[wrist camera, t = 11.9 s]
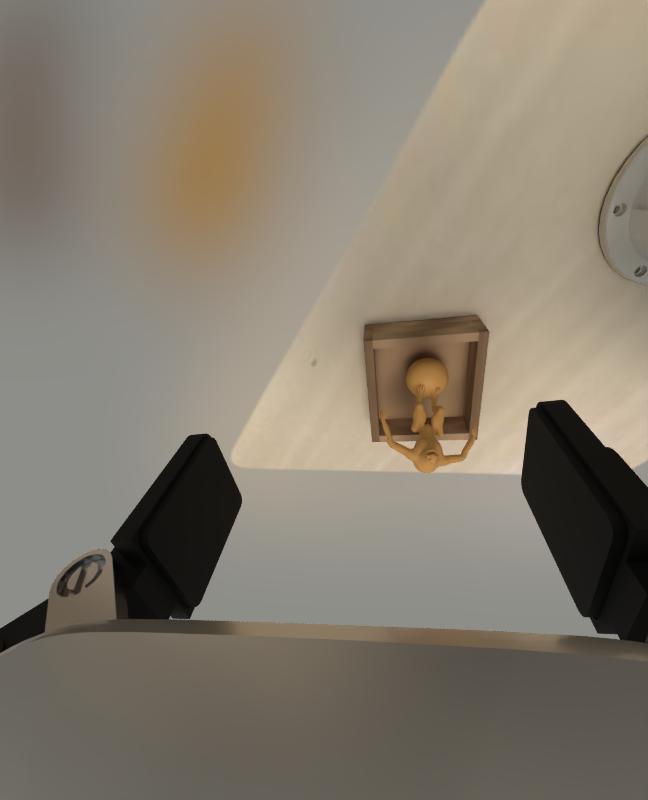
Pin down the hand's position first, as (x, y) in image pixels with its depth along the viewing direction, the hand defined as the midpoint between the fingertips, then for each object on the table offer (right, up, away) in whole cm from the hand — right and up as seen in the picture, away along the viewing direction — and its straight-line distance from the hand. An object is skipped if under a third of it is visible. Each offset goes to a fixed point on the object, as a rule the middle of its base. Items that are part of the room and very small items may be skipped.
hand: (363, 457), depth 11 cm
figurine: (+9, +4, +25) cm, 27 cm away
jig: (+9, +5, +26) cm, 28 cm away
